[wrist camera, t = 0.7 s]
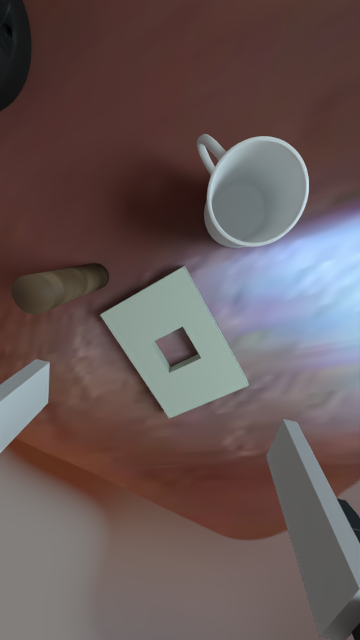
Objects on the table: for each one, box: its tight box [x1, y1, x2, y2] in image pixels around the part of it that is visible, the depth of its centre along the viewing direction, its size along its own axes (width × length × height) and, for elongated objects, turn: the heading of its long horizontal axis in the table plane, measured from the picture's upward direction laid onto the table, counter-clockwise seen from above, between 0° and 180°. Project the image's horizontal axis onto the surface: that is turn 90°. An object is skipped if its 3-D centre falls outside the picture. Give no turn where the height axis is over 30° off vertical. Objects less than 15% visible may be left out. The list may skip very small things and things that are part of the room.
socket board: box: [100, 266, 249, 418], centre depth 36 cm, size 20×14×2 cm
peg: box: [12, 263, 109, 314], centre depth 28 cm, size 4×4×14 cm
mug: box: [197, 134, 309, 248], centre depth 25 cm, size 12×8×12 cm
